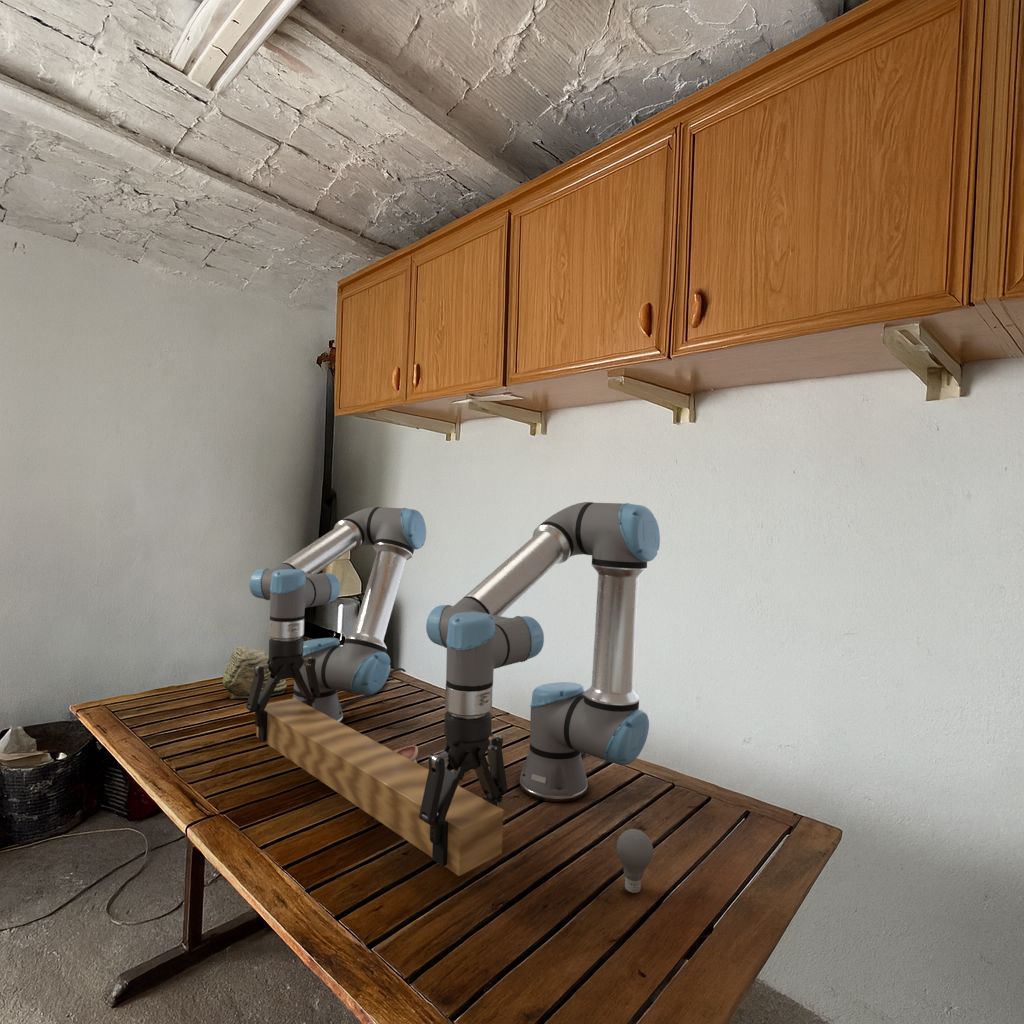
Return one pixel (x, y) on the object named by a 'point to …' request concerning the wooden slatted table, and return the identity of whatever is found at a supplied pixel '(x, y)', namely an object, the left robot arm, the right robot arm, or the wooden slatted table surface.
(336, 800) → the wooden slatted table surface
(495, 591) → the right robot arm
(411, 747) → the anatomical model
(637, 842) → the light bulb
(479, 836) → the long beam
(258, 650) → the fossil
